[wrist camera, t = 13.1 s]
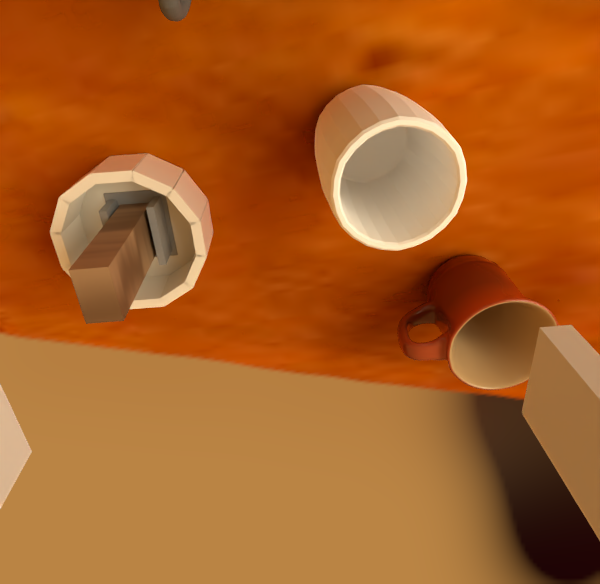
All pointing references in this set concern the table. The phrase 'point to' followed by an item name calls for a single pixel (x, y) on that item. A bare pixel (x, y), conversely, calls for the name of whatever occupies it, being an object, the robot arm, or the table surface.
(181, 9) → the mug
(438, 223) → the cup
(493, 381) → the mug
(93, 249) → the tall brown wooden block
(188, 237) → the white round bowl
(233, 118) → the table surface
